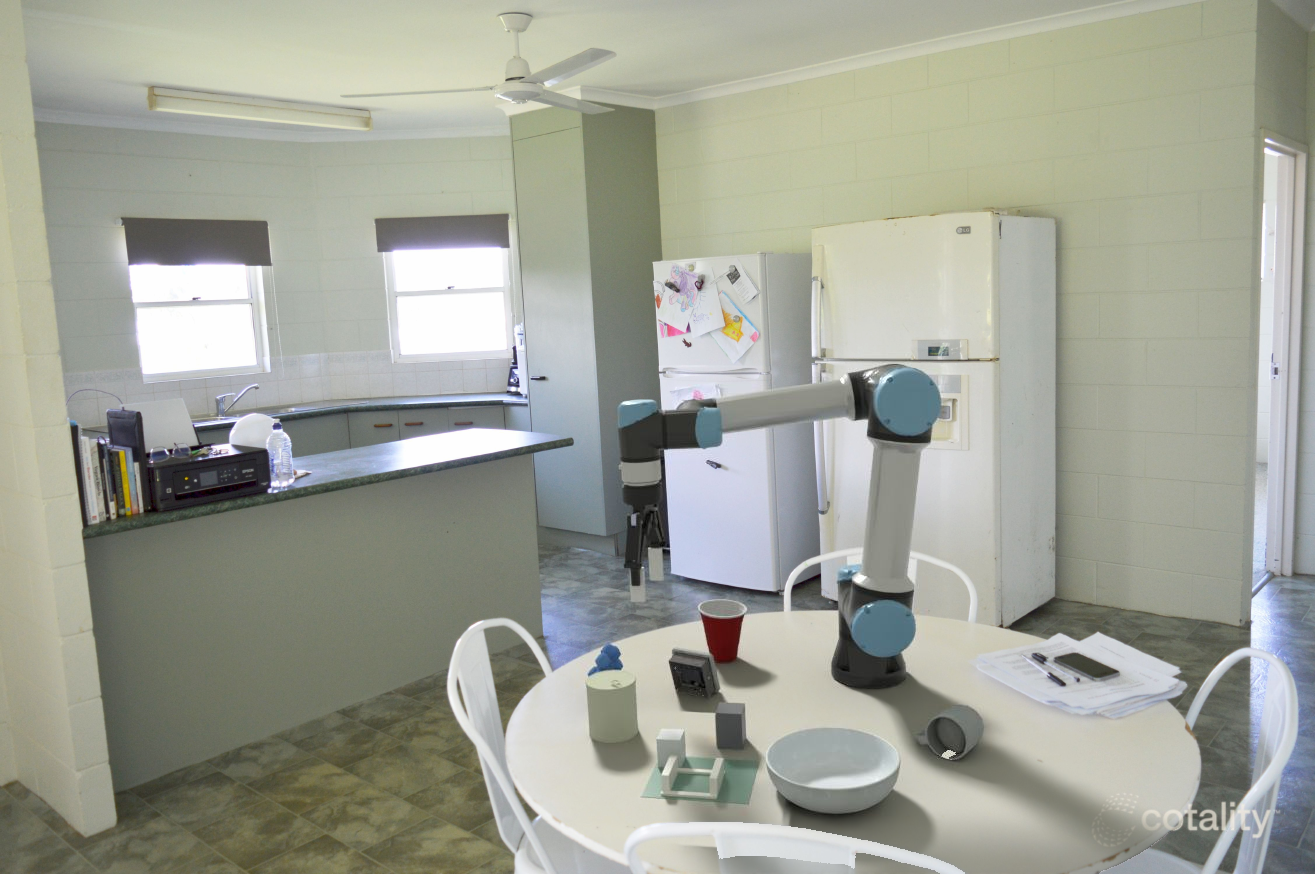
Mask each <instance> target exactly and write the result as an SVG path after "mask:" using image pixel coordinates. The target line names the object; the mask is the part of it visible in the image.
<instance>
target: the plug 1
mask: <svg viewBox="0 0 1315 874" xmlns="http://www.w3.org/2000/svg"><path fill="white" fill-rule="evenodd" d="M685 731H686V730H685V729H683V728H682V729H679V728H661V729H660V731H659V733H658V735H657V737H656V738H655V739H656V741H655V742H656V753H657V755H656V758H657V759H656V760H657V762H658V767H663V768H665V766H666V763H667V761H668V759H669V757H670V755H677V760H678V768H682V766H683V763H684V761H685V758H686V757H687V754H686V753H687V752H686V733H685Z"/></svg>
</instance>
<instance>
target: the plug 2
mask: <svg viewBox="0 0 1315 874" xmlns="http://www.w3.org/2000/svg"><path fill="white" fill-rule="evenodd" d="M714 721H715V722H714V723H715V744H716V745H715V746H716V748H717V749H721V750H739V751H740V750H741V751H744V747H745V743H746V742H747V741H746V740H747V723H746V722H747V721H746V702H723V701H719V703H718V705H717V707H716V711H715V714H714Z"/></svg>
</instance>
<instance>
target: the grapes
mask: <svg viewBox="0 0 1315 874" xmlns="http://www.w3.org/2000/svg"><path fill="white" fill-rule="evenodd" d="M621 655H622V653H621V651H620V649H619V647H618V646H616V645H613V644H611V643H607V644H605V645H604V646H603V647H602V649H601V650H600V653H599V654H598V655H597V657H596V659H595V660H594V662H595V665H596V666H593V667H592V668H591V669H590V670H589V671H588V673H587V678H588V677H589V676H591V675H592V674H595V673H597V672H601V671H607V670H622V669H623V667H624V665H623V661H622V660H621V659H620V657H621Z"/></svg>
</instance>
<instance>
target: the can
mask: <svg viewBox="0 0 1315 874" xmlns="http://www.w3.org/2000/svg"><path fill="white" fill-rule="evenodd" d="M636 679H637V677H636V675H635V674H633V673H632V672H630V671H628V670H627V671H626V670H622V669H621V670H607V671H601V672H597V673H595V674H592V675H591V676H589V677H588V676H587V678H586V679H585V687H586V697H587V698H586V699H587V712H588V713H587V714H588V717H587V718H588V732H589V737H590V739H592V740H594V741H596V742H599V743H604V744H605V743H606V744H615V743H616V744H617V743H624V742H626V741H629V740H631V739H633V738H634V737H636V736H637V734H638V732H639V722H638V721H639V720H638V707H637V705H638V704H637V687H636V686H637V685H636Z"/></svg>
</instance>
